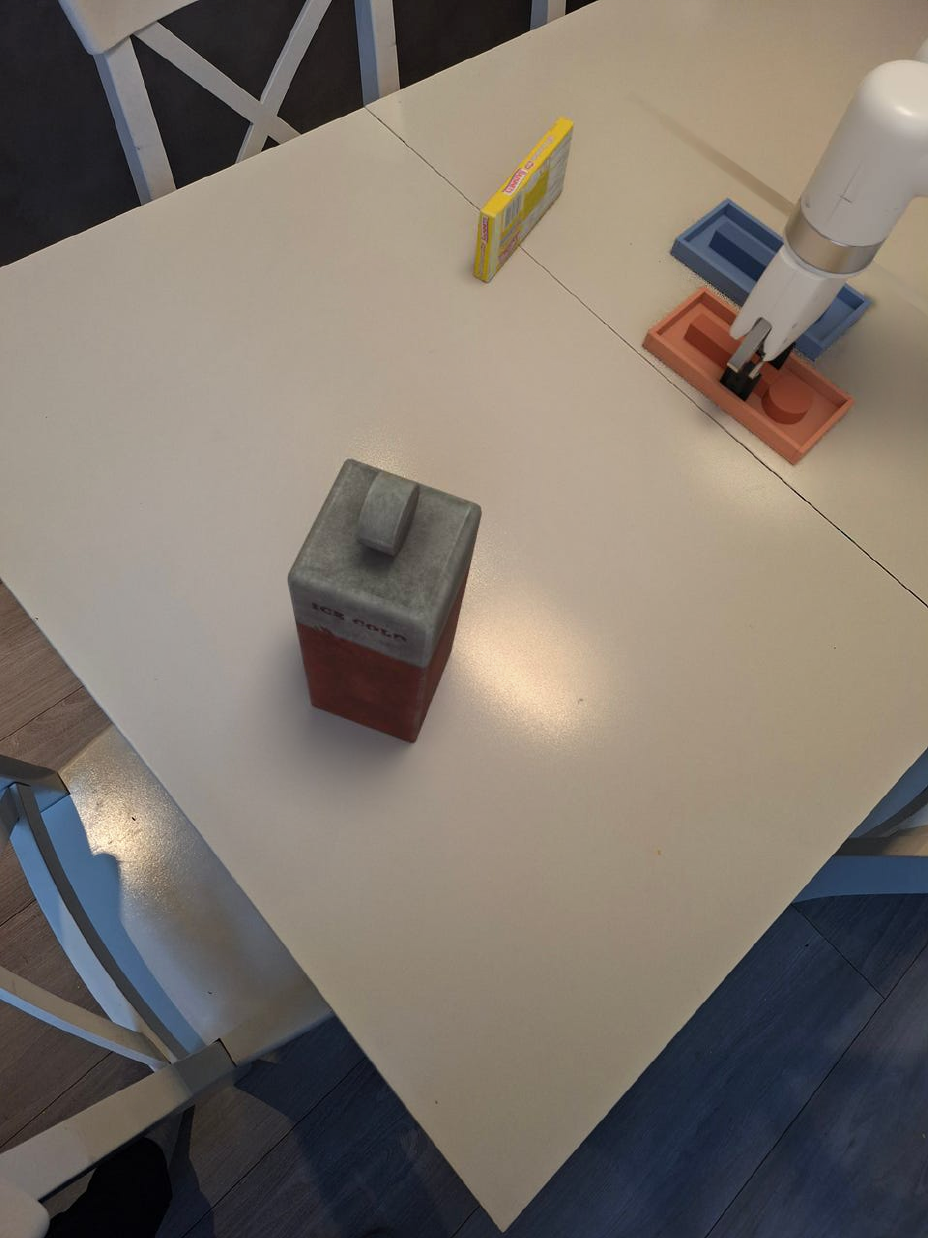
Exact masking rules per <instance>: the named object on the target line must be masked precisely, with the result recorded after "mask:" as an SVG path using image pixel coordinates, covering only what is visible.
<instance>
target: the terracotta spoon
mask: <svg viewBox="0 0 928 1238" xmlns="http://www.w3.org/2000/svg"><path fill="white" fill-rule="evenodd" d="M684 339H685V340H686V341H688V342H689V343H690V344H692V345H693V346H694V347H695V348H697V349H698V350H699V351H701V352H702V353H703V354H704V355H706V356H707V357H708V358H710V359H711V360H712V361H714V362H715V363H716V364H717V365H719V366H720V367H721V368H723V369H724V370H726V368H727V363H728V361H729V360H730V359H731V357H732V356H733V355H734V354H735V352H736V351H737V349H738V348H739V346H740V345H741V342H740V341H739V340H735V339H734V338H733V337H731V336H730V334H729V333H728V332H727V331H726V330H724V329H723V328H722V327H720V326H719V325H718V324H716V323H715V322H714V321H712V320H711V319H710V318H708V317H707V316H706V315H705V314H703V313H702V314H701V315H699V316H698V317H697V318H696V319H695V320H693V321H692V322H691V323H690V325H689V327H688V329H687V332H686V334H685V336H684ZM760 358H761V357H760V356H758V355H757V354H756V353H754V355H753V356H752V357H751V359H750V360H751V361H752V362H753V363H755V364H756V363H757V362H758V360H759V359H760ZM760 373H761V374H762V376H761V378H760V379H759V381H758V383H757V384H756V386H755V388H754V389H753V391H752V392H754V393H755V394H756V395H757V396H759V397H760V398H761V399H762V406H763V409H764V411H765V413H766V414H767V415H768V416H769V417H770V418H771V419H773V420H774V421H776V422H779V423H782V424H794V423H797V422H799V421H800V420H802V419H803V417H804V416H805V415H806V413H807V412H808V410H809V409H810V408H811V406H812V404H813V393H812V391H811V389H810V388H809V387H808V385H807V384H805V383H804V382H803V381H801V380H799V379H797V378H795V377H790V376H783V377H780V376H781V375H782V373H781V372H779V371H778V370H777V369H775V368H774V367H773V366H771V365H770V364H769V363H768V362H767V363H766V364H765V366H764V367H763V368H762V370H761V371H760Z"/></svg>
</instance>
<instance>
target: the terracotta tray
mask: <svg viewBox="0 0 928 1238" xmlns="http://www.w3.org/2000/svg"><path fill="white" fill-rule="evenodd" d="M739 312H740V311H739V310H737V309H736V308H734V307H733V306H732V305H730V304H729V303H728V302H726V301H725V300H724V299H722V298H721V297H720V296H719V295H717V294H716V293H714V292H713V291H712V290H710V289H709V288H708V287H706V285H702V286H701V287H699V289H697V290H695V292H694V293H693V294H691V295H690V296H689V297H688V298H686V299H685V300H684V301H683V302H682V303H680V304H679V305H678V306H677V307H675V309H673V310H672V311H670V313H668V314H667V315H666V316H665V317H663V318H662V319H661V320H660V321H659V322H657V323H656V324H655V325H654V326H653V327H652V328H650V329H649V330H648V331H647V332H646V335H645V337H644V340H643V342H642V344H641V346H642V347H643V348H644V349H646V350H647V351H649V352H650V353H651V354H652V355H653V356H655V357H656V358H657V359H659V360H660V361H661V362H662V363H663V364H665V365H666V366H667V367H668V368H670V370H672V371H673V372H675V373H676V374H677V375H679V376H680V377H681V378H683V379H684V380H685V381H687V382H688V383H689V384H690V385H692V386H693V387H694V388H695V389H697V391H699V392H700V393H702V395H705V397H707V398H708V399H709V400H710V401H712V402H713V403H714V404H715V405H717V406H718V407H719V408H720V409H722V410H723V411H724V412H725V413H727V414H728V415H730V416H731V417H732V418H733V419H735V420H736V421H737V422H738V423H740V424H741V425H742V426H743V427H745V428H746V429H747V430H748V431H750V432H751V433H752V434H754V435H755V436H756V437H757V438H758V439H760V440H761V441H762V442H764V443H765V444H766V445H767V446H769V447H770V448H771V449H772V450H774V451H775V452H777V453H778V454H779V456H782V457H783V458H784V459H785V460H787V461H788V462H789V463H790V464H791V465H793V466H795V465H796V464H797V463H798V462H799V461H800V460H801V459H803V457H805V455H806V454H807V453H808V452H809V451H810V450H811V449H812V448H814V446H815V445H817V443H818V442H819V441H820V440H822V438H823V437H824V436H825V435H826V434H827V433H828V432H830V430H831V429H833V427H834V426H835V425H836V424H837V423H838V422H840V420H841V419H842V418H843V417H844V416H845V415H846V414H847V413H848V412H849V410H850V409H851V408H852V407H853V405H854V404H855V403H856V402H857V400H856V399H855V398H854V397H853V396H851V395H850V394H849V393H847V392H846V391H844V390H843V389H842V388H840V387H839V386H838V385H837V384H835V383H834V382H832V381H831V380H830V379H828V378H827V377H826V376H825V375H824V374H822V373H820V372H819V371H818V370H817V369H815V368H814V367H813V366H811V365H810V364H808V362H806V361H804V360H803V359H802V358H801V357H800V356H798V355H797V354H796V353H794V352H793V351H791V353H790V355H789V356H788V358H787V359H786V361H785V363H784V364H783V366H782V367H781V369H780V370H779V372H781V373H782V375H781V376H780V377H783V376H790V377H795V378H797V379H799V380H801V381H803V382H804V383H805V384H807V385H808V387H809V388H810V389H811V391H812V393H813V404H812V406H811V408H810V409H809V410H808V412H807V413H806V415H805V416H804V417H803V419H802V420H800V421H799V422H797V423H794V424H782V423H779V422H776V421H774V420H773V419H771V418H770V417H769V416H768V415H767V414H766V413H765V411H764V409H763V406H762V399H761V398H760V397H759V396H757V395H756V394H755V393H754V392H752V393H751V394H750V396H749V397H748V399H747V400H746V401H745V402H744V401H743V400H741V399H740V398H739V397H738V396H736V395H735V394H734V393H733V392H731V391H730V390H729V389H727V388H726V387H725V386H724V385H722V384H721V383H720V382H719V381H720V379H721V377H722V375H723V373H724V372H725V370H724V369H723V368H721V367H720V366H719V365H717V364H716V363H715V362H714V361H712V360H711V359H710V358H708V357H707V356H706V355H704V354H703V353H702V352H701V351H699V350H698V349H697V348H695V347H694V346H693V345H692V344H690V343H689V342H688V341H686V340H685V339H684V336H685V334H686V332H687V329H688V327H689V325H690V323H691V322H692V321H693V320H695V319H696V318H697V317H698V316H699V315H701V314H702V313H703V314H705V315H706V316H707V317H708V318H710V319H711V320H712V321H714V322H715V323H716V324H718V325H719V326H720V327H722V328H723V329H724V330H726V331H727V332H728V333H729V334H730V327H731V326H732V324H733V322H734V320H735V319H736V317H737V315H738V314H739ZM747 334H748V333H747ZM747 334H745V335H744V336H742V337H740V338H739V339H737V340H739V341H740V342H741V343H742V342H743V340H744V339H745V337H746V336H747Z"/></svg>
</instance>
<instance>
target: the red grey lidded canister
mask: <svg viewBox="0 0 928 1238" xmlns="http://www.w3.org/2000/svg"><path fill="white" fill-rule="evenodd" d="M482 512H483V511H482V507H481V505H479V504H478V503H476V502H474V501H470V500H468V499H465V498H462V497H459V496H457V495H453V494H451V493H448V492H445V491H443V490H440V489H437V488H435V487H432V486H430V485H429V486H428V485H426V484H424V483H421V482H418V481H415V480H412V479H409V478H407V477H404V476H402V475H398V474H396V473H392V472H389V471H387V470H384V469H381V468H378V467H376V466H373V465H370V464H368V463H365V462H362V461H359V460H356V459H353V458H347V459H346V460H345V461H344V462H343V464H342V466H341V468H340V470H339V472H338V474H337V476H336V478H335V480H334V482H333V484H332V486H331V488H330V490H329V492H328V494H327V495H326V497H325V499H324V502H323V504H322V506H321V508H320V510H319V512H318V513H317V516H316V518H315V520H314V522H313V524H312V526H311V528H310V529H309V531H308V534H307V535H306V537H305V540H304V541H303V543H302V546H301V547H300V550H299V552H298V554H297V555H296V557H295V559H294V562H293V564H292V566H291V567H290V570H289V571H288V574H287V586H288V591H289V597H290V603H291V607H292V611H293V616H294V617H293V618H294V621H295V627H296V632H297V636H298V637H297V638H298V642H299V648H300V652H301V653H300V654H301V658H302V662H303V668H304V673H305V678H306V684H307V687H308V688H307V689H308V694H309V699H310V704H311V706H312V707H313V708H315V709H318V710H321V711H324V712H327V713H329V714H332V715H335V716H337V717H339V718H342V719H345V720H347V721H351V722H353V723H356V724H358V725H362V726H364V727H366V728H369V729H372V730H375V731H377V732H380V733H382V734H385V735H388V736H390V737H393V738H396V739H398V740H401V741H403V742H406V743H409V744H414V743H416V742H417V740H418V737H419V735H420V732H421V729H422V727H423V724H424V722H425V720H426V717H427V714H428V711H429V709H430V707H431V705H432V702H433V699H434V696H435V694H436V691H437V689H438V686H439V684H440V682H441V679H442V677H443V674H444V671H445V669H446V666H447V663H448V662H449V659H450V656H451V654H452V651H453V647H454V641H455V637H456V633H457V628H458V625H459V624H458V623H459V619H460V615H461V611H462V606H463V601H464V597H465V592H466V588H467V583H468V579H469V573H470V569H471V565H472V561H473V556H474V551H475V546H476V542H477V538H478V533H479V528H480V525H481V520H482V516H483V513H482Z"/></svg>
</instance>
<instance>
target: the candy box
mask: <svg viewBox="0 0 928 1238" xmlns="http://www.w3.org/2000/svg"><path fill="white" fill-rule="evenodd" d="M574 126H575V122H574V121H573V120H570V119H568V118H565V117H562V116H559V118H557V120H556V121H555V122H554V123H553V125H552V126H551V127H550V128H549V130H548V131H547V132H546V133H545V134H544V136H543V137H542V138H541V139H540V140H539V141H538V142H537V143H536V145H535V146H534V147H533V148H532V150H530V151H529V153H528V154H527V155H526V156H525V158H523V160H522V161H521V163H520V164H519V165H518V166H517V167H516V168H515V170H514V171H513V172H512V173H511V174H510V175H509V176H508V178H507V179H506V180H505V181H504V182H503V184H502V185H501V186H500V187H499V188H498V189H497V190H496V192H495V193H494V194H493V195H492V197H490V199H489V200H488V201H487V202H486V203H485V205H483V207H482V208H481V209H480V210H479V217H478V225H477V238H476V245H475V247H476V249H475V259H474V270H473V275H474V277H475V278H478V279H479V280H482V281H483V282H485V283H489V282H490V281H491V279H493V277H495V275H496V274H497V273H498V272H499V270H500V269H501V268H502V267H503V265H504V264H505V263H506V262H507V260H508V259H509V258H510V257H511V255H512V254H513V253H514V252H515V250H516V249H517V248H518V247H519V245H520V244H521V243H522V242H523V241H524V239H525V238H526V237H527V236H528V235H529V233H530V232H531V231H532V229H533V228H534V227H535V225H536V224H537V223H538V222H539V221H540V219H541V218H542V217H543V216H544V214H545V213H546V212H547V211H548V210H549V208H551V206H552V205H553V203H554V202H555V201H556V200H557V198H559V196H560V195H561V193H562V192H563V190H564V189H563V188H564V182H565V177H566V173H567V172H566V171H567V166H568V160H569V155H570V149H571V144H572V139H573V134H574V133H573V132H574Z"/></svg>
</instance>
